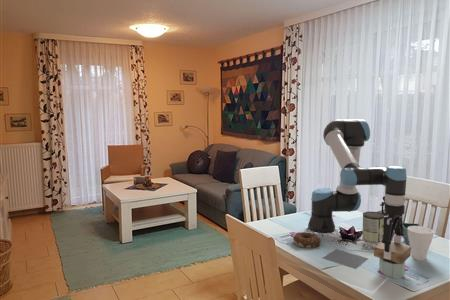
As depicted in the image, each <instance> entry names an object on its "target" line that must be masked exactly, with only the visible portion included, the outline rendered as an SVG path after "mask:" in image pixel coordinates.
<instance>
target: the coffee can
mask: <svg viewBox="0 0 450 300" xmlns="http://www.w3.org/2000/svg"><path fill="white" fill-rule="evenodd" d="M383 225H384V215H383V214H381V213H378V211H364V212H362V232H361V233H362V237H361V240H362V241H364V242H366V243H368V244H376V245H378V244H379V243H380V242H381V241H382V239H383Z"/></svg>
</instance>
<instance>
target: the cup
mask: <svg viewBox="0 0 450 300" xmlns="http://www.w3.org/2000/svg"><path fill="white" fill-rule="evenodd" d="M407 231H408V239H409V243H410V244H409V246H411V255H410V257H411V258H412V259H415V260H417V261H426V260H427V257H428V251H429V249H430V246H431V244H432V240H433V237H434V230H433V229H432V228H430V227H427V226H426V227H425V226H422V225H420V226H409V227H408V228H407Z"/></svg>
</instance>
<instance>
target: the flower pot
mask: <svg viewBox="0 0 450 300" xmlns="http://www.w3.org/2000/svg"><path fill="white" fill-rule="evenodd" d="M409 226H421V225H420V224H419V223H410V222H403V234H404V236H402V238H403V240H404V241H405V243H406V245H410V243H409V239H408V231H407V228H408V227H409Z"/></svg>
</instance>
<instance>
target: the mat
mask: <svg viewBox="0 0 450 300" xmlns="http://www.w3.org/2000/svg"><path fill="white" fill-rule="evenodd" d="M322 259H324V260H326V261H330V262H333V263H336V264H339V265H342V266H345V267H349V268H351V269H355V270H357V268H359V267H360V266H362V265H363V264H364V263H365V262H367V261H368V260H369V258H368V257H365V256H362V255H359V254H358V255H357V254H355V253H351V252H348V251H344V250H340V249H337V248H335V249H334V250H332V251H331V252H329V253H327V254H326V255H325V256H323V257H322Z"/></svg>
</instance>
